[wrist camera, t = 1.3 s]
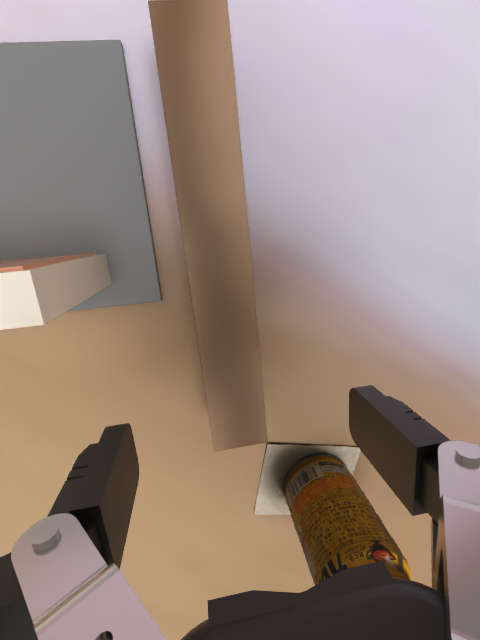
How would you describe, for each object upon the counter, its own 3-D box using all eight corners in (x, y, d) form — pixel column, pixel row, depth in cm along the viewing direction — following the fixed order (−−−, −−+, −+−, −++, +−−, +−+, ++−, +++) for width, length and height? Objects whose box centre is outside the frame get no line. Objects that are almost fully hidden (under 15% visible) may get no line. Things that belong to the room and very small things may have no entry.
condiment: (341, 513, 30) (432, 686, 19) (253, 512, 29) (291, 699, 17) (359, 445, 28) (471, 590, 17) (266, 441, 27) (319, 595, 16)
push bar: (219, 55, 20) (226, -2, 15) (254, 403, 26) (267, 442, 21) (159, 58, 19) (148, 0, 15) (210, 411, 26) (213, 451, 21)
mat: (122, 45, 19) (120, 39, 18) (161, 299, 23) (160, 300, 22) (-148, 53, 17) (-160, 47, 17) (-54, 322, 21) (-61, 325, 21)
